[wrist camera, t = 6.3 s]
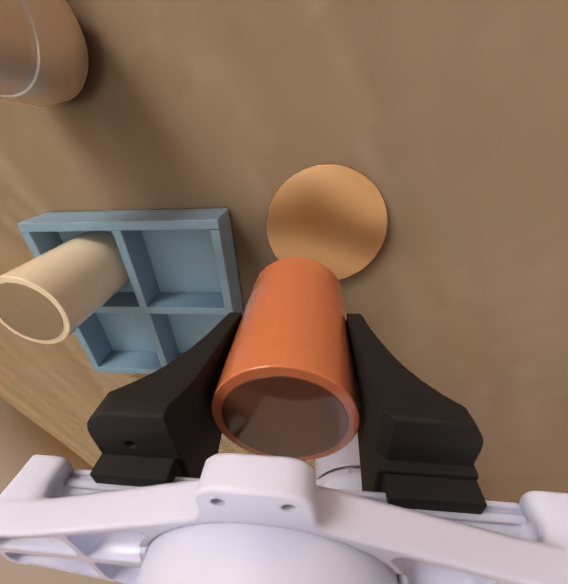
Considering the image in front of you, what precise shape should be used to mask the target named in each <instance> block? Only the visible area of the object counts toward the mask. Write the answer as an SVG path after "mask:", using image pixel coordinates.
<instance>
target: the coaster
mask: <svg viewBox="0 0 568 584" xmlns="http://www.w3.org/2000/svg"><path fill="white" fill-rule="evenodd" d="M387 224H388V218H387V210H386V205H385V202H384V200H383V197H382V195H381V194H380V192H379V190H378V189H377V188H376V186H375V185H374V184H373V182H371V181H370V180H369V179H368V178H367V177H366V176H365V175H363V174H362V173H360V172H359V171H357V170H355V169H353V168H350V167H347V166H343V165H338V164H321V165H316V166H312V167H308V168H306V169H303V170H301V171H299V172H298V173H296V174H294V175H293V176H292V177H290V178H289V179H288V180H287V181H286V182H285V183H284V184H283V185H282V186H281V187H280V188H279V190H278V191H277V192H276V194H275V196H274V198H273V199H272V202H271V204H270V207H269V210H268V214H267V221H266V231H267V238H268V241H269V244H270V247H271V249H272V251H273V253H274V255H275V256H276V258H277V259H278V260H281V259H284V258H290V257H303V258H308V259H312V260H315V261H317V262H319V263H321V264H323V265H324V266H326V267H327V268H328V269H330V270H331V271H332V272H333V273H334V275H335V276H336V277H337V279H338V280H340V279H344V278H347V277H349V276H352V275H354V274H355V273H357V272H359V271H360V270H362V269H363V268H365V267H366V266H367V265H368V264H369V263H370V262H371V261H372V260H373V259H374V257H375V256H376V255H377V253H378V252H379V250H380V248H381V246H382V244H383V242H384V239H385V236H386V232H387Z"/></svg>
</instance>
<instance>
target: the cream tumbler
mask: <svg viewBox="0 0 568 584" xmlns="http://www.w3.org/2000/svg"><path fill="white" fill-rule="evenodd" d="M129 281H130V279H129V276H128V273H127V271H126V268H125V265H124V262H123V260H122V257H121V254H120V252H119V249H118V246H117V243H116V241H115V238H114V236H113V235H111V234H109V233H107V232H103V231H87V232H84V233H82V234H80V235H78V236H76V237H74V238H72V239H70V240H68V241H66V242H64V243H63V244H61V245H59V246H57V247H55V248H53V249H51V250H49V251H47V252H45V253H43V254H41V255H39V256H37V257H35V258H33V259H31V260H29V261H27V262H25V263H23V264H21V265H19V266H17V267H15V268H13V269H11V270H9V271H7V272H5V273H3V274H1V275H0V322H1V323H2V324H3V325H4V326H5V327H7V328H8V329H9V330H11V331H12V332H14V333H15V334H17V335H19V336H21V337H23V338H25V339H27V340H30V341H33V342H37V343H42V344H54V343H58V342H61V341H63V340H64V339H66V338H67V337H68V336H69V335H70V334H71V333H72V332H73V331H75V330H76V329H77V328H78V327H79V326H80V325H81V324H82V323H84V322H85V321H86V320H87V319H88V318H89V317H90V316H91V315H93V314H94V313H95V312H96V311H97V310H98V309H99V308H100V307H101V306H103V305H104V304H105V303H106V302H107V301H108V300H109V299H110V298H112V297H113V296H114V295H115V294H116V293H117V292H118V291H119V290H121V289H122V288H123V287H124V286H125V285H126V284H127V283H128V282H129Z"/></svg>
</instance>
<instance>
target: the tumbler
mask: <svg viewBox="0 0 568 584" xmlns="http://www.w3.org/2000/svg"><path fill="white" fill-rule="evenodd" d="M211 410H212V415H213V418H214V421H215V423H216V425H217V426H218V428H219V429H220V431H221V432H222V433H223V434H224V435H225V436H226V437H227V438H228V439H229V440H231V441H232V442H233V443H235V444H236V445H238V446H239V447H241V448H243V449H245V450H247V451H249V452H252V453H254V454H257V455H271V456H286V457H292V458H296V459H301V460H302V461H306V460H314V459H318V458H322V457H326V456H329V455H331V454H333V453H336V452H337V451H339V450H341V449H342V448H344V447H345V446H347V445H348V444H349V443H350V442H351V441H352V439H353V438H354V437H355V435H356V433H357V431H358V428H359V424H360V412H359V405H358V398H357V391H356V384H355V377H354V370H353V363H352V356H351V349H350V342H349V336H348V329H347V321H346V314H345V307H344V300H343V293H342V288H341V285H340V283H339V281H338V279H337V277H336V276H335V275H334V273H333V272H332V271H331V270H330V269H328V268H327V267H326V266H324V265H323V264H321V263H319V262H317V261H315V260H312V259H308V258H303V257H290V258H284V259H281V260H278V261H276V262H273V263H272V264H270V265H268V266H267V267H266V268H265V269H264V270H263V271H262V272H261V273H260V274H259V276H258V277H257V279H256V281H255V283H254V286H253V289H252V291H251V294H250V297H249V300H248V302H247V305H246V308H245V311H244V313H243V316H242V319H241V321H240V324H239V327H238V330H237V332H236V335H235V338H234V340H233V343H232V346H231V349H230V351H229V354H228V357H227V359H226V362H225V365H224V368H223V370H222V373H221V376H220V378H219V381H218V384H217V387H216V389H215V392H214V395H213V398H212V402H211Z"/></svg>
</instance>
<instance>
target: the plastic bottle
mask: <svg viewBox="0 0 568 584" xmlns="http://www.w3.org/2000/svg"><path fill="white" fill-rule="evenodd" d="M88 67H89V59H88V50H87V45H86V42H85V38H84V35H83V32H82V30H81V27H80V25H79V23H78V21H77V19H76V17H75V14H74V13H73V11H72V9H71V8H70V6H69V5H68V3H67V1H66V0H0V97H2V98H5V99H8V100H13V101H18V102H23V103H27V104H32V105H37V106H48V105H53V104H58V103H62V102H66V101H68V100H71V99H73V98H74V97H75V96H77V95H78V94H79V92H80V91H81V90H82V88H83V86H84V84H85V81H86V78H87V73H88Z"/></svg>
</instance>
